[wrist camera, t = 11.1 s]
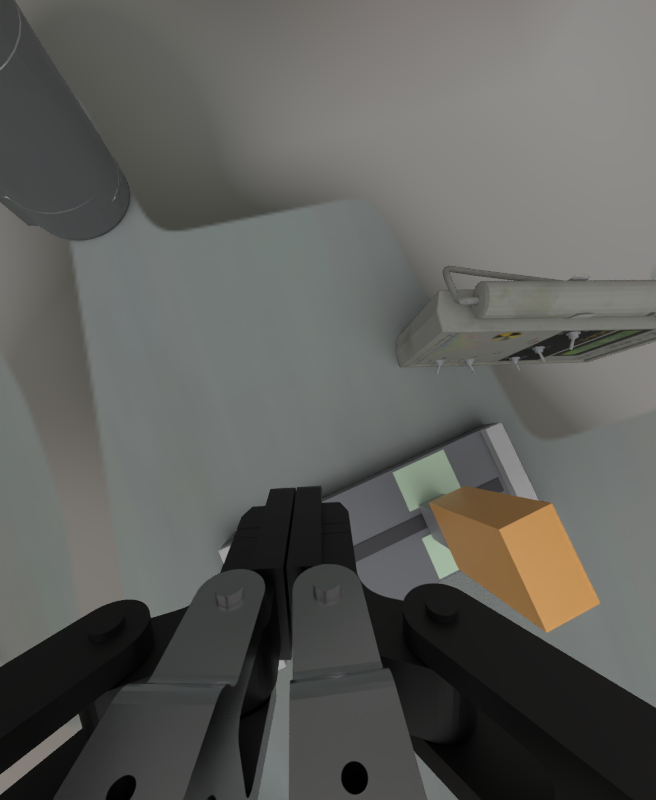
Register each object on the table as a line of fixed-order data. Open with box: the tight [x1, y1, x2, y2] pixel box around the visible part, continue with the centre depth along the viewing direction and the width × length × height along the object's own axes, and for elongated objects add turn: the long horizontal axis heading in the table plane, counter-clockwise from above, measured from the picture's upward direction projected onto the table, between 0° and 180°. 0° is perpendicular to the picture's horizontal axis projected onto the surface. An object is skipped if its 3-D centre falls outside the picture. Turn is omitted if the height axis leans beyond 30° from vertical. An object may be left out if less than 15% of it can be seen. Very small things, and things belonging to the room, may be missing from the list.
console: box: [219, 422, 538, 671], centre depth 32 cm, size 26×10×3 cm, turn 113°
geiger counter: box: [396, 266, 656, 374], centre depth 30 cm, size 14×6×25 cm
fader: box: [418, 486, 600, 633], centre depth 24 cm, size 3×5×14 cm, turn 23°
